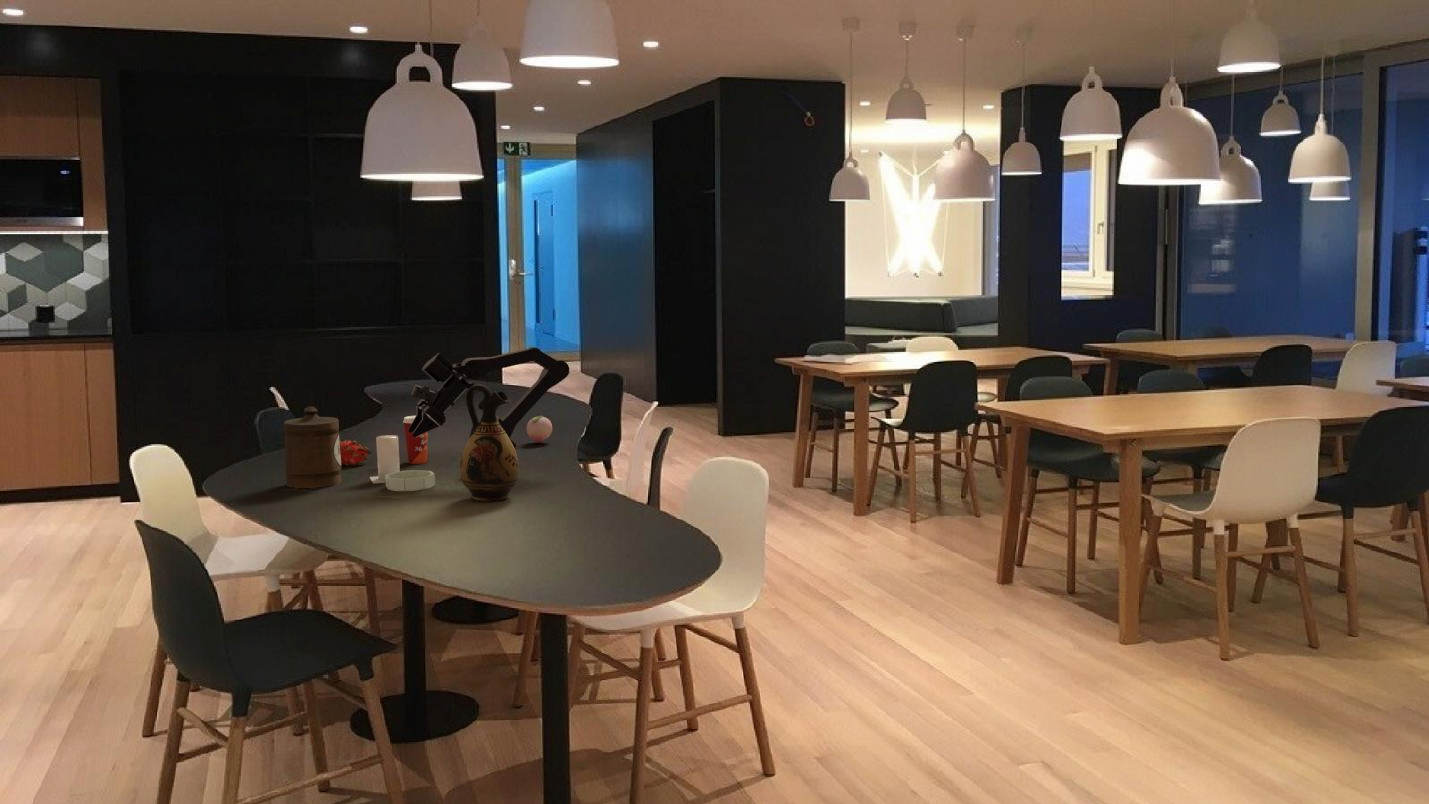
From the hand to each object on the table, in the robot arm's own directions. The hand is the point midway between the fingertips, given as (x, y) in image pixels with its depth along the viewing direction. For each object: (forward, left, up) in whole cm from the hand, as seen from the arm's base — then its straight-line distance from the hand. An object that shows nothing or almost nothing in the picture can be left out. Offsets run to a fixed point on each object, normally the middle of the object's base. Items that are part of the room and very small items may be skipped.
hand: (411, 434), depth 356 cm
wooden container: (+21, +16, -13) cm, 30 cm away
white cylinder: (+5, +4, -12) cm, 14 cm away
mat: (+5, +4, -13) cm, 14 cm away
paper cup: (+13, -22, -13) cm, 28 cm away
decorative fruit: (-6, -64, -13) cm, 65 cm away
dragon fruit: (+30, -12, -13) cm, 35 cm away
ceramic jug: (-36, +17, -13) cm, 42 cm away
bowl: (-8, +12, -13) cm, 19 cm away
